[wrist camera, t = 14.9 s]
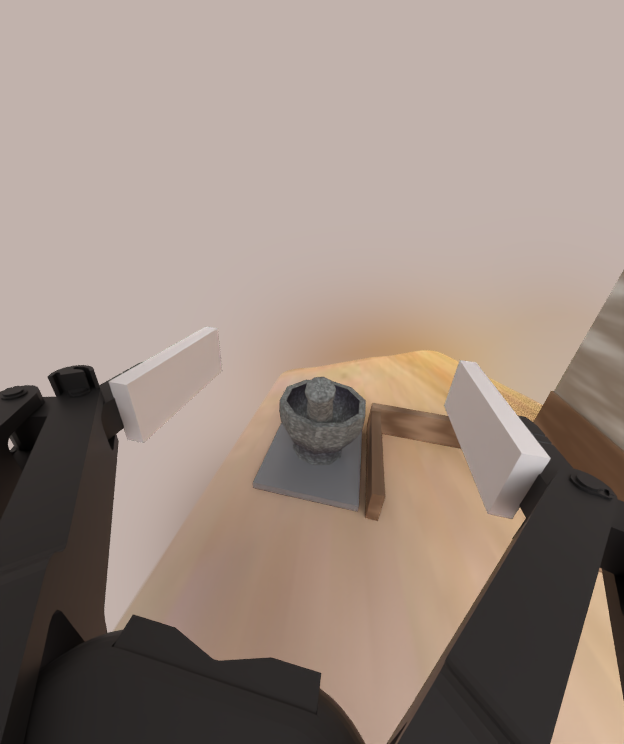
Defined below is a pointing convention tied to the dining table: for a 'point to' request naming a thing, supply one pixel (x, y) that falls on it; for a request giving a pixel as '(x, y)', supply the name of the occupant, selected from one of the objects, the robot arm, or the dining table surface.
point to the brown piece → (540, 412)
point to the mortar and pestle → (321, 418)
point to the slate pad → (311, 474)
